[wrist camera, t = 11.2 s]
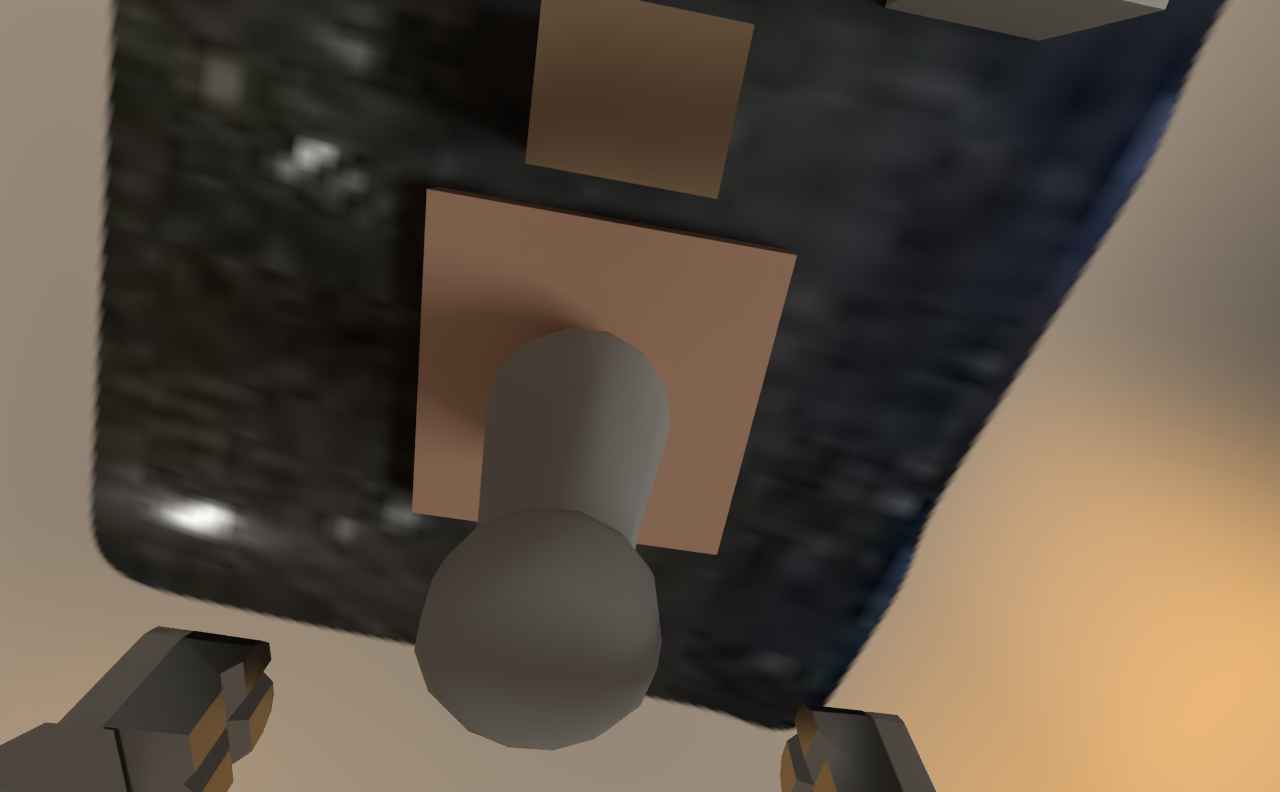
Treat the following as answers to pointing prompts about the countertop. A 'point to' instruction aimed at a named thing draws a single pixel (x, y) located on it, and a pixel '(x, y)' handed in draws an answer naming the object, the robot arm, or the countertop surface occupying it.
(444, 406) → the terracotta tile
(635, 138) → the walnut block
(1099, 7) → the pale grey block
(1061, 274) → the countertop surface
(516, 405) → the salt shaker
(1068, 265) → the countertop surface
